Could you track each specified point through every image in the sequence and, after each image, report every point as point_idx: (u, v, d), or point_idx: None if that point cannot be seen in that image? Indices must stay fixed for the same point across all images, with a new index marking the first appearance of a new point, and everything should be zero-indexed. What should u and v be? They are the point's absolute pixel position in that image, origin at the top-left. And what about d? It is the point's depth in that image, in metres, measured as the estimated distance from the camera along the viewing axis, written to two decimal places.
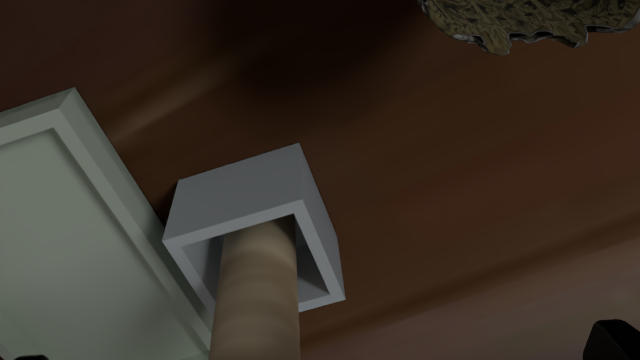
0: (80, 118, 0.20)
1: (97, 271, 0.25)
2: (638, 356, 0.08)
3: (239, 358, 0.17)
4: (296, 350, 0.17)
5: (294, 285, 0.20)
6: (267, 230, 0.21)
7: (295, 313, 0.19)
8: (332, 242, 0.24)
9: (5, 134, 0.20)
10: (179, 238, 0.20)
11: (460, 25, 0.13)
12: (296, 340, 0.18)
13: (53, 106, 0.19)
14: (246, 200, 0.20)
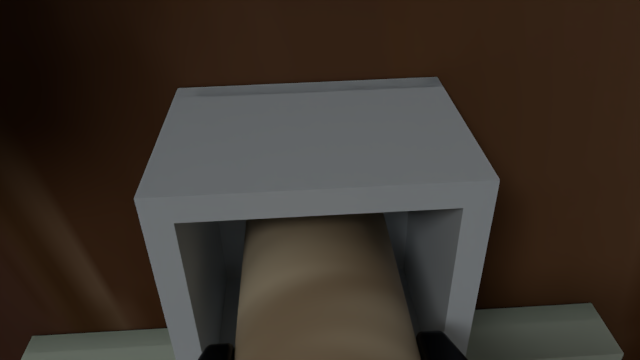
0: None
1: None
2: None
3: None
4: None
5: (318, 318, 0.08)
6: (250, 257, 0.10)
7: None
8: (395, 114, 0.10)
9: None
10: None
11: None
12: None
13: None
14: None
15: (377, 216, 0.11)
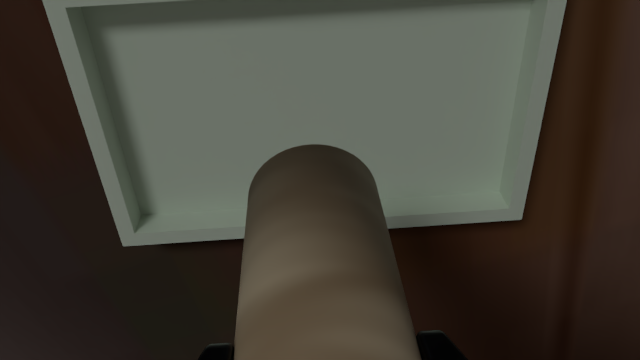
0: None
1: (321, 73, 0.19)
2: None
3: None
4: None
5: (318, 317, 0.08)
6: (249, 256, 0.10)
7: None
8: None
9: (71, 63, 0.17)
10: None
11: None
12: None
13: None
14: None
15: (377, 215, 0.10)
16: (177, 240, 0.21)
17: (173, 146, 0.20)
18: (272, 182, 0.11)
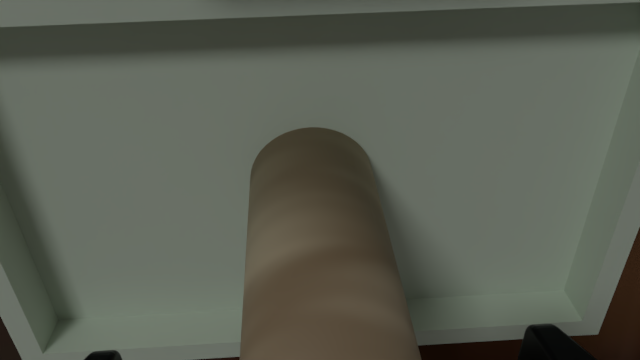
0: None
1: None
2: None
3: None
4: None
5: (319, 286, 0.08)
6: (254, 233, 0.11)
7: (326, 359, 0.07)
8: None
9: None
10: None
11: None
12: None
13: None
14: None
15: (372, 193, 0.11)
16: None
17: (99, 231, 0.14)
18: (273, 163, 0.12)
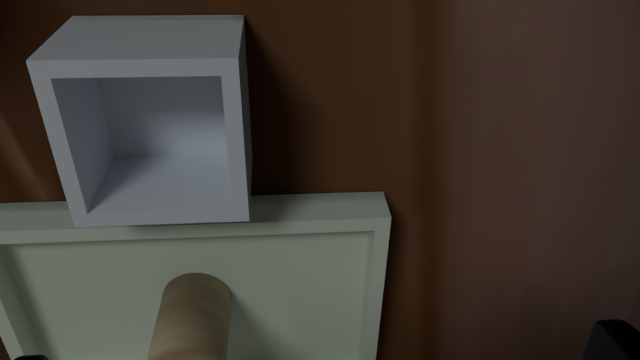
0: None
1: None
2: (638, 356, 0.08)
3: None
4: None
5: None
6: (154, 335, 0.21)
7: None
8: (202, 31, 0.16)
9: None
10: (75, 210, 0.17)
11: None
12: None
13: None
14: None
15: (219, 314, 0.22)
16: None
17: (76, 324, 0.24)
18: (171, 294, 0.22)
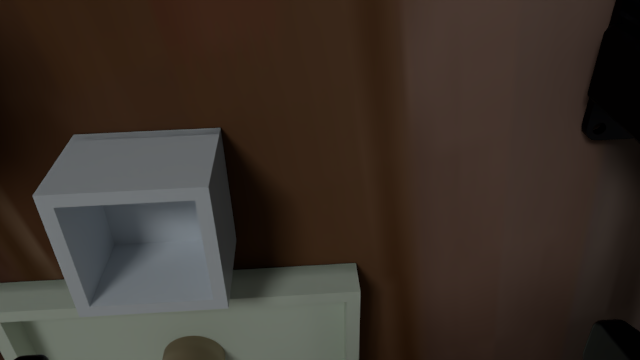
0: (11, 297, 0.23)
1: None
2: (638, 356, 0.08)
3: None
4: None
5: None
6: None
7: None
8: (182, 151, 0.19)
9: (6, 350, 0.24)
10: (79, 304, 0.20)
11: None
12: None
13: None
14: None
15: None
16: None
17: None
18: (170, 358, 0.25)
